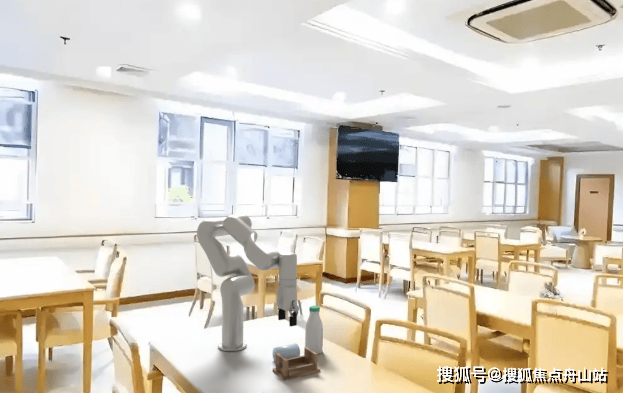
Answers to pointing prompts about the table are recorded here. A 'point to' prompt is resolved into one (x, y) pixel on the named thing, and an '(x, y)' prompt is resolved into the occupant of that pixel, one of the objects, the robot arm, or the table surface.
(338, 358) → the table surface
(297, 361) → the holder
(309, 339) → the milk bottle
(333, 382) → the table surface
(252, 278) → the robot arm
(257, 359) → the table surface
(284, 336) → the table surface
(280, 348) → the cylinder
